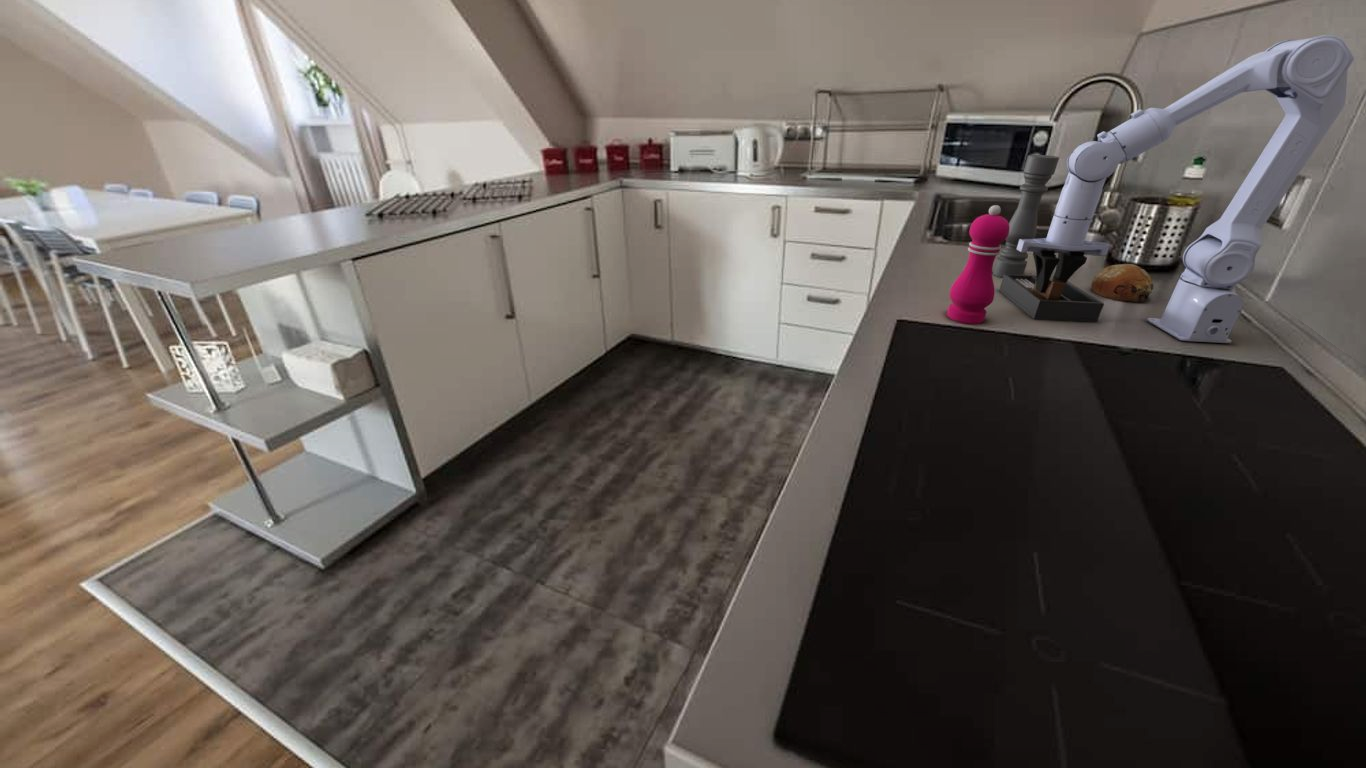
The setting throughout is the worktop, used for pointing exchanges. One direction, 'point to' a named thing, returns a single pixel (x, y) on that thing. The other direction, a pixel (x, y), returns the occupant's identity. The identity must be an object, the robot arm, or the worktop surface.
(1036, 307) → the organizer
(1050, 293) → the brown block
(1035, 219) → the candle holder
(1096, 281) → the bread roll
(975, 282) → the pepper mill
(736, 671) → the worktop surface
